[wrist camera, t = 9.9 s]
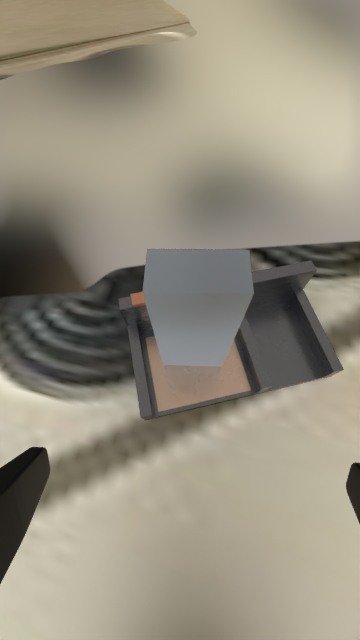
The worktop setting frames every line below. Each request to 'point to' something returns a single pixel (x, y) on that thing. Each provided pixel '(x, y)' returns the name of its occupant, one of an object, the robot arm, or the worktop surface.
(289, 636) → the worktop surface
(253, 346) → the compartment tray
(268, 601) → the worktop surface
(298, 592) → the worktop surface
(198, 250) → the grey rectangular block
